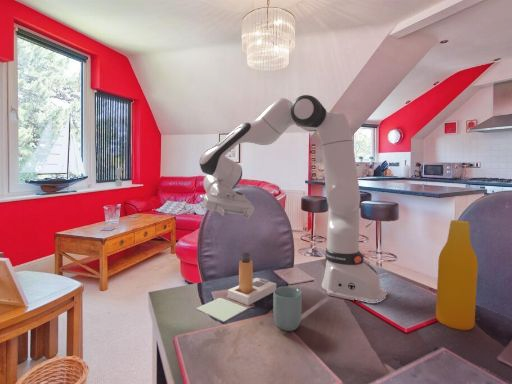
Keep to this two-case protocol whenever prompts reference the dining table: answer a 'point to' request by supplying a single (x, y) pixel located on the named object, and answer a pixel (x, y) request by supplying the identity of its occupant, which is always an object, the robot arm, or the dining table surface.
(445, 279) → the beer bottle
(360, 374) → the dining table surface
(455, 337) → the dining table surface
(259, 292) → the white bottle holder
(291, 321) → the cup
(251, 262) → the orange capped bottle
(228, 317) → the mat
